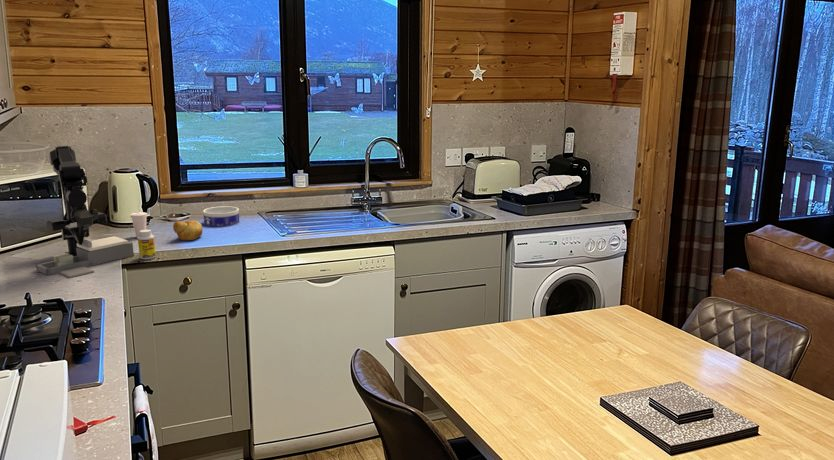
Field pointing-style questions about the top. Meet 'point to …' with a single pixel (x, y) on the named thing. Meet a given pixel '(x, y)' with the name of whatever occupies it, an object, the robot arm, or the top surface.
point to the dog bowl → (221, 216)
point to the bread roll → (188, 229)
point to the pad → (76, 272)
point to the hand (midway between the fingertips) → (80, 244)
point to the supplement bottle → (146, 245)
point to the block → (63, 259)
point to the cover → (102, 243)
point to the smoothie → (139, 221)
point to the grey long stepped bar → (89, 258)
